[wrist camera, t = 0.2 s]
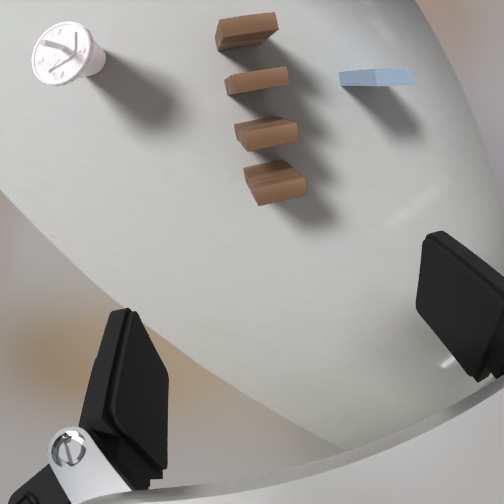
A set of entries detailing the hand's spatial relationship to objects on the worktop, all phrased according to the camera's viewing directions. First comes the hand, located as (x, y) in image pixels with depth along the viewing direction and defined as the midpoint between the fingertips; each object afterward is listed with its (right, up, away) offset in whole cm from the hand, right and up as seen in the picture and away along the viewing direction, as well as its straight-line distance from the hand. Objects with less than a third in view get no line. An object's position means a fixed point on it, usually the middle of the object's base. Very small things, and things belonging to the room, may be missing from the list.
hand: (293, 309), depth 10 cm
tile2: (-3, +26, +21) cm, 33 cm away
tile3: (-2, +21, +24) cm, 32 cm away
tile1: (+12, +24, +25) cm, 36 cm away
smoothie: (-20, +24, +19) cm, 37 cm away
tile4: (-1, +16, +26) cm, 31 cm away
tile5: (0, +12, +29) cm, 31 cm away
